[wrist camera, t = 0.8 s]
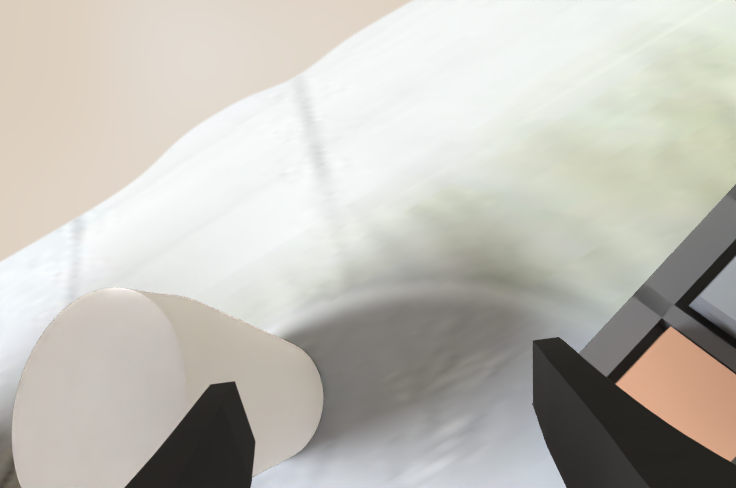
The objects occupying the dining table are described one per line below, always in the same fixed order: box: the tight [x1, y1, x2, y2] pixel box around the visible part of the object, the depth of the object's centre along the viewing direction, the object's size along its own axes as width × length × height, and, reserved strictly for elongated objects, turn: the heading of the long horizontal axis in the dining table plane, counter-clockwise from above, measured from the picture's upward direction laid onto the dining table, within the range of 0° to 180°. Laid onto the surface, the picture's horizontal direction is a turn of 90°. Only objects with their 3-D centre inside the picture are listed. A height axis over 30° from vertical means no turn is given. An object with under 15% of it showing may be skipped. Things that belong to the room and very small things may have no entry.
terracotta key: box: [615, 327, 736, 462], centre depth 19 cm, size 4×4×2 cm
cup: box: [12, 288, 323, 488], centre depth 24 cm, size 9×9×12 cm
